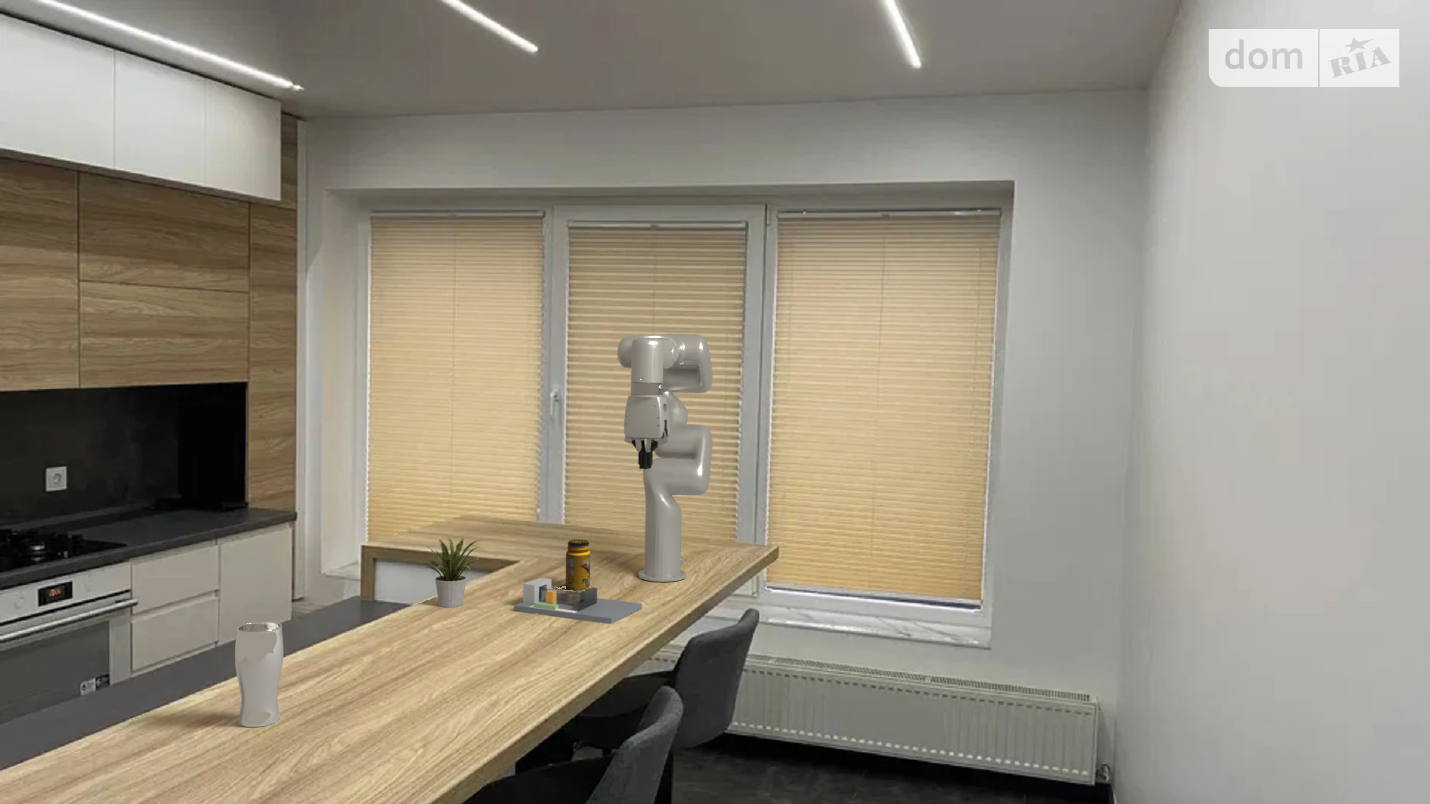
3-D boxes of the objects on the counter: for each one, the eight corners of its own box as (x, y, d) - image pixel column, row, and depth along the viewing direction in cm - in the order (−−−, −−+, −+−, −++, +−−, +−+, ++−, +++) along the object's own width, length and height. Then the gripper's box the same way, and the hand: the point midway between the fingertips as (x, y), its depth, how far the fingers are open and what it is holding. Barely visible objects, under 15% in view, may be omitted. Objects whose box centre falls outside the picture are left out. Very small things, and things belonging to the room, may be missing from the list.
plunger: (540, 595, 244) (540, 581, 244) (596, 602, 238) (597, 587, 238) (520, 603, 236) (520, 588, 236) (578, 611, 230) (578, 595, 230)
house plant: (500, 602, 242) (501, 533, 241) (462, 615, 230) (463, 542, 229) (451, 595, 248) (452, 527, 247) (411, 607, 236) (412, 536, 235)
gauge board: (548, 596, 249) (548, 574, 248) (641, 608, 239) (642, 585, 239) (513, 610, 235) (514, 587, 234) (611, 623, 225) (611, 599, 225)
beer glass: (244, 713, 166) (244, 620, 165) (289, 712, 167) (289, 620, 166) (227, 728, 159) (227, 632, 158) (274, 728, 160) (274, 632, 159)
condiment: (596, 590, 257) (596, 542, 257) (564, 593, 253) (565, 545, 252) (582, 584, 263) (583, 537, 263) (552, 587, 259) (553, 540, 258)
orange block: (549, 605, 235) (549, 589, 235) (556, 606, 235) (556, 590, 234) (545, 606, 234) (545, 591, 234) (552, 607, 233) (552, 592, 233)
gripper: (682, 391, 242) (680, 469, 243) (625, 389, 248) (624, 465, 249) (669, 392, 235) (667, 472, 236) (610, 389, 241) (609, 468, 242)
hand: (645, 468), depth 243 cm, fingers closed
